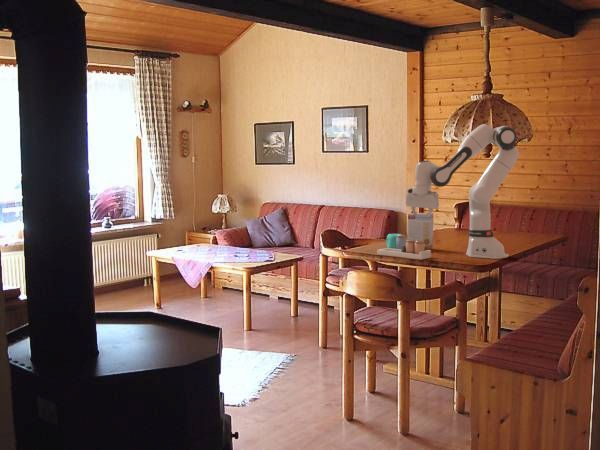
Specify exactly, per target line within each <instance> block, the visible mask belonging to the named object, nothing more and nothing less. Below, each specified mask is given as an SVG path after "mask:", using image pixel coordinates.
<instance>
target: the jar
mask: <svg viewBox="0 0 600 450" xmlns="http://www.w3.org/2000/svg"><path fill="white" fill-rule="evenodd" d="M415 241H416V240H408V239H406V253H412V254H414V247H415Z"/></svg>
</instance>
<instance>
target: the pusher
mask: <svg viewBox="0 0 600 450" xmlns="http://www.w3.org/2000/svg"><path fill="white" fill-rule="evenodd" d="M401 252H403V253H406V245H404V246H401Z"/></svg>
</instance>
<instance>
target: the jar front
mask: <svg viewBox="0 0 600 450" xmlns="http://www.w3.org/2000/svg"><path fill="white" fill-rule="evenodd" d="M421 251H425V249H424V241H415V247H414V254H419V252H421Z"/></svg>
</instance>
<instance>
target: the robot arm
mask: <svg viewBox="0 0 600 450" xmlns="http://www.w3.org/2000/svg"><path fill="white" fill-rule="evenodd" d="M517 135H518V134H517V132H516V129H514V128H513V127H511V126H507V125H500V126H496V127H493V128H492V126H490V125H489V124H487V123H483V124H480V125H478V126H477V127H475V128H474V129H473V130H471V132H469V133H468V135H466V136H465V137H464V138H463V139H462V141H461V143H460V144H459V147H458V150H457V151H456V153H455V154H454V155H453V156H452V157H451V158H450V159H449V160H448V161H447V162H446V163H445V164H444V165H443V166H439V165H437V164H435V163H433V162H432V161H431V160H422V161H418V162H417V163H416V165H415V169H414V179H415V181H414V186H413V187H410V188H407V190H406V193H407V194H406V196H405V206H406V207H411V211H412V213H413V215H417V213H418V212H417V210H416V208H422V209H428V212H426V213H427V217H430V216H431V213H433V210H434V209H435V210H436V209H439V207H440V202H439V201H440V200H439V193H438V192H437V191H435V190H434V191H433V190H432V184H433V185H435V186H436V187H440V188H441V187H445V186H447V185H448V184H449V183H450V180H451V179H452V176H453V175H454V174H455V172H456V171H457V170H458V169H460V168H461V167H462V165H463V164H464V163H466V162H468V160H470V159H472V158H473V157H476V156H477V155H478V154H479V153H480V152H482V151H483V150H484V149H485V148H486V146H488V145H489V144H493V145H496V146H498V152H497V153H496V155H495V156H494V157H493V159H492V160H491V162H489V164H488V166H487V167H486V169H485V170H484V172H483V173H482V174H481V176H480V178H479V179H478V181H477V182H476V183H475V184H473V185H471V186H470V189H469V191H468V202H469V208H468V209H469V229H468V244H467V249H466V253H465V255H466V256H468V257H470V258H479V259H480V258H481V259H493V260H498V259H500V260H501V259H505V258H508V257H509V254H508V253H505V247H504V245H503V243H501V242H500V241H499V240H498V239H497V238H496V237H494V234H495V232H496V231H493V230H492V229H491V219H492V218H491V217H492V216H491V214H492V213H491V200H492V199H493V198H494V196H495V194H496V193H497V192H498V190H499V189H500V186H501V185H502V183H503V182H504V180H505V179H506V178H507V176H508V175H509V174H510V172H511V171H512V169H514V166H515V165H516V163H517V161H518V159H519V156H520V151H519V150H518V148H517V147H516V146H517V144H516V143H517V139H518V138H517Z"/></svg>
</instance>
